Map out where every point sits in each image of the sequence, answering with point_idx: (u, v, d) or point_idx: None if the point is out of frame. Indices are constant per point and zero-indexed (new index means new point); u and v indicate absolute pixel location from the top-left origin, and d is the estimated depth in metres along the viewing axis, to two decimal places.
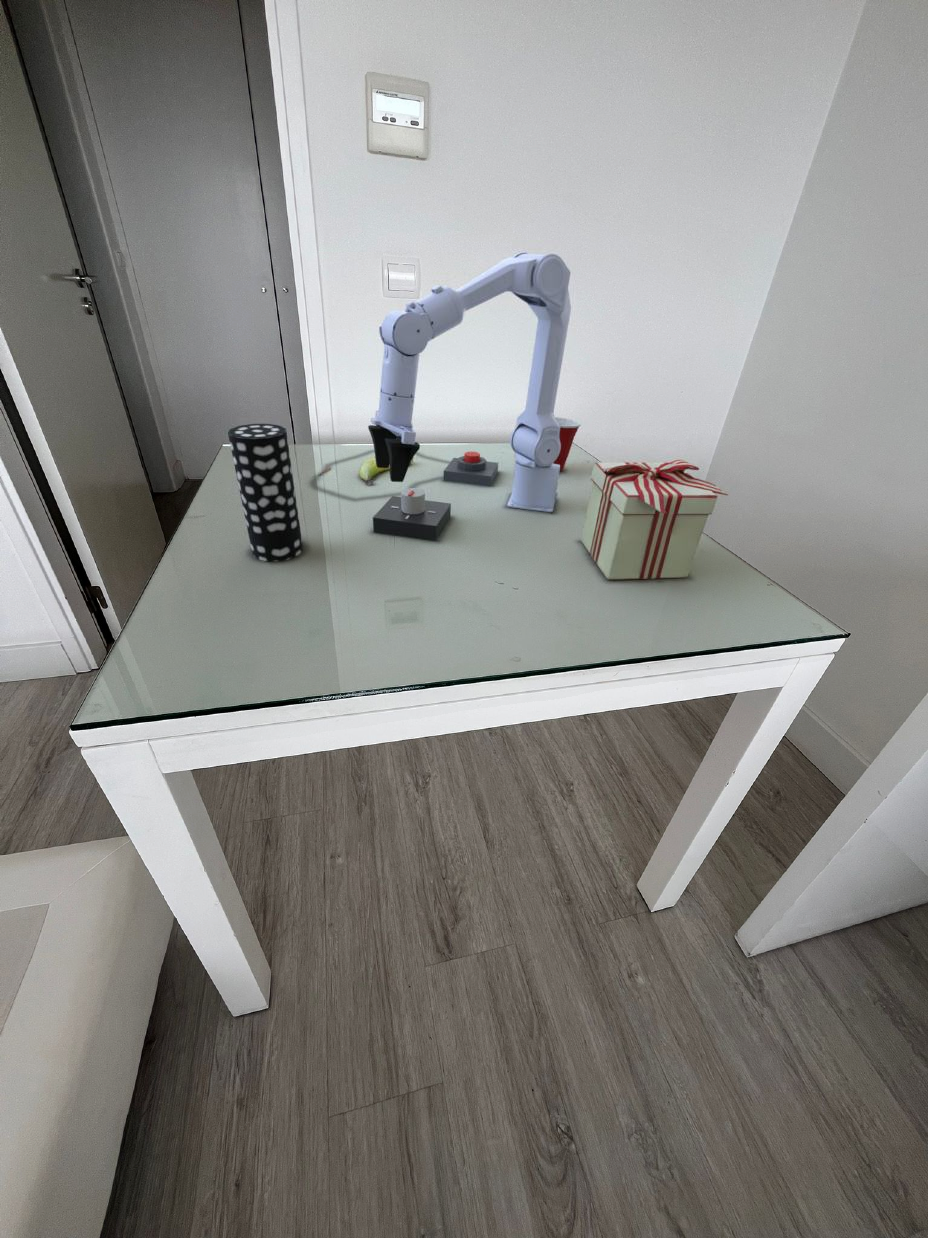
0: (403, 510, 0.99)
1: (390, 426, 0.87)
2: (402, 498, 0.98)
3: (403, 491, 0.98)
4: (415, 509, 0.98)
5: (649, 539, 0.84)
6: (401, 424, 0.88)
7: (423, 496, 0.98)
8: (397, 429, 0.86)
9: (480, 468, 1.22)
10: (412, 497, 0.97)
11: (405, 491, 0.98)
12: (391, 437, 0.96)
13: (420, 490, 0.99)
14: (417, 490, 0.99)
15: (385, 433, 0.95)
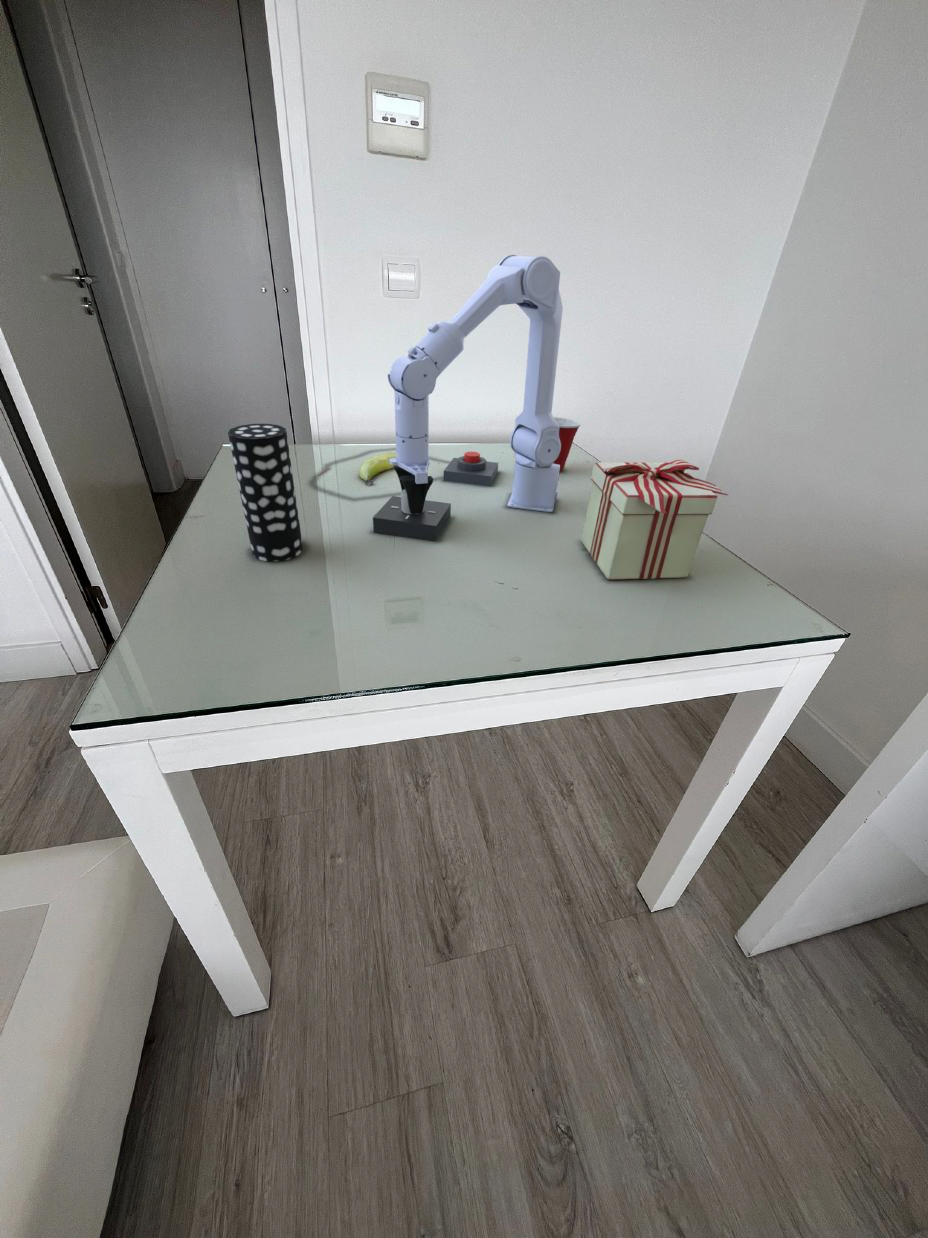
0: (403, 510, 0.99)
1: (405, 467, 0.92)
2: (402, 498, 0.98)
3: (403, 491, 0.98)
4: None
5: (649, 539, 0.84)
6: (416, 463, 0.93)
7: None
8: (411, 470, 0.91)
9: (480, 468, 1.22)
10: None
11: (405, 491, 0.98)
12: None
13: None
14: None
15: None
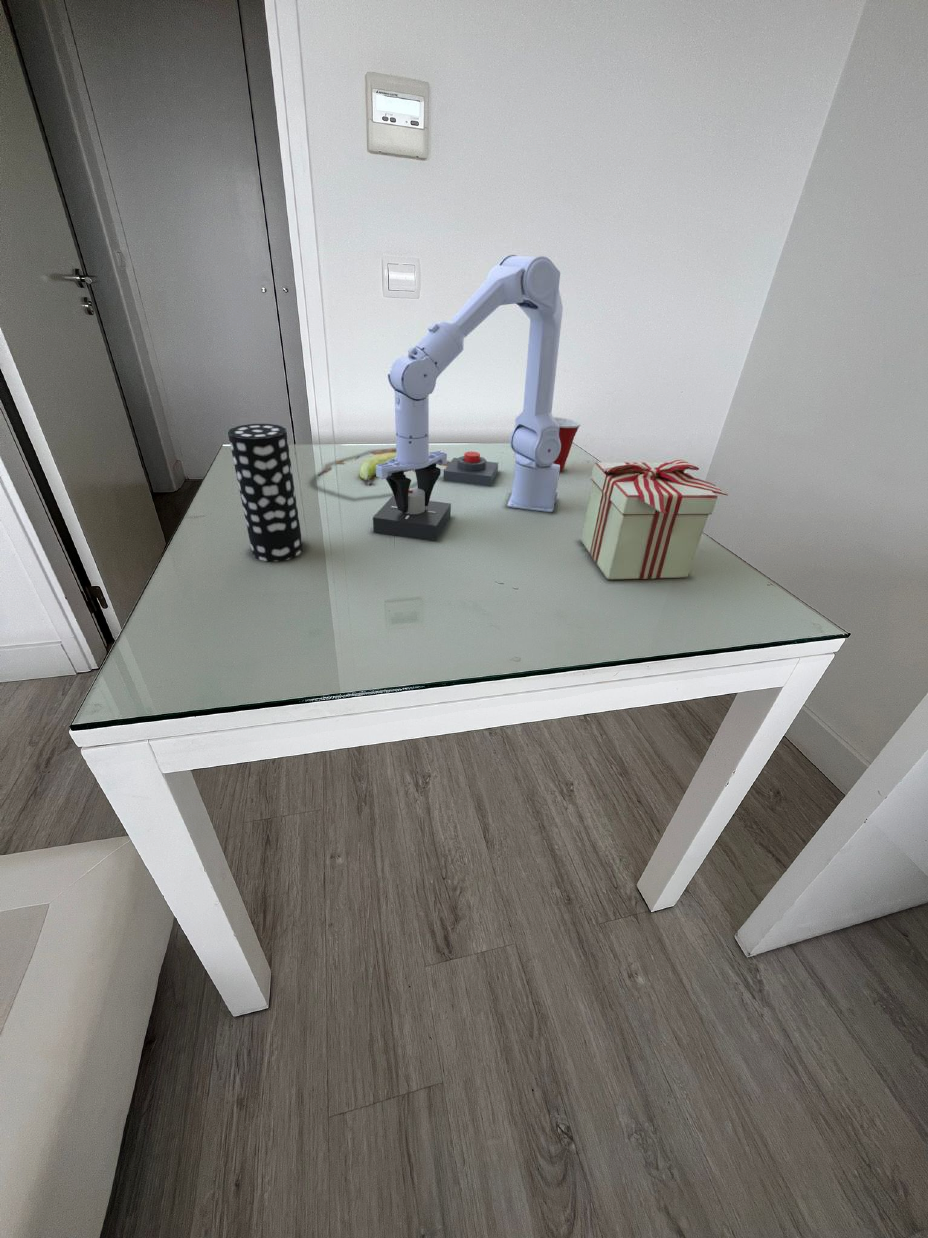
0: None
1: None
2: None
3: (410, 488, 1.00)
4: None
5: (649, 539, 0.84)
6: (399, 461, 0.93)
7: (412, 498, 0.97)
8: None
9: (480, 468, 1.22)
10: None
11: (411, 489, 0.99)
12: (426, 477, 0.98)
13: (419, 493, 0.98)
14: (419, 493, 0.98)
15: (423, 472, 0.98)
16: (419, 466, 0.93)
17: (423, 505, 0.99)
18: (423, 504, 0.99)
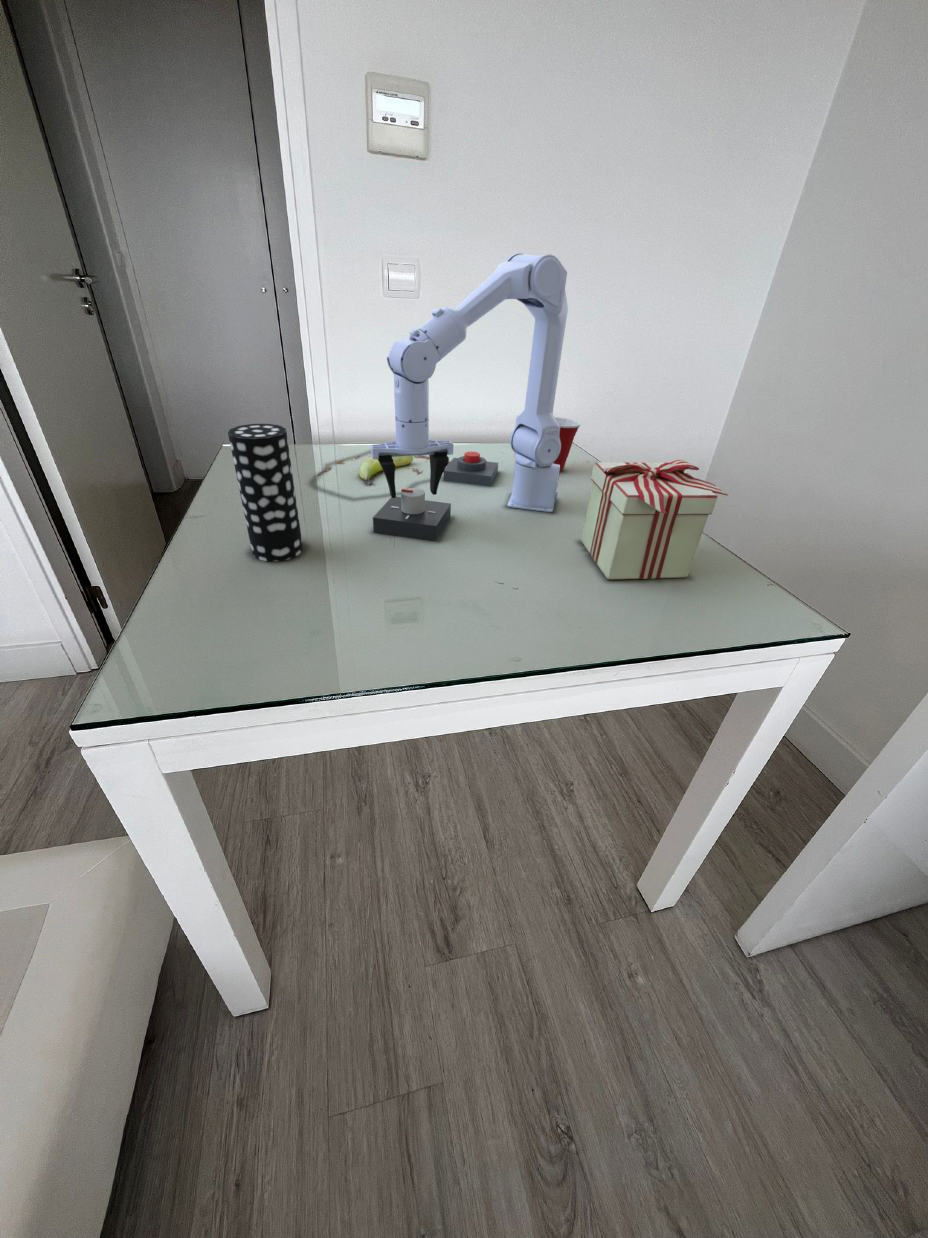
0: None
1: None
2: None
3: (414, 488, 1.00)
4: (401, 505, 0.99)
5: (649, 539, 0.84)
6: (396, 444, 0.93)
7: (407, 498, 0.97)
8: None
9: (480, 468, 1.22)
10: (401, 492, 0.98)
11: (414, 489, 1.00)
12: (434, 465, 0.96)
13: (417, 494, 0.97)
14: (417, 493, 0.98)
15: (433, 460, 0.96)
16: (412, 451, 0.91)
17: (420, 507, 0.98)
18: (420, 506, 0.98)
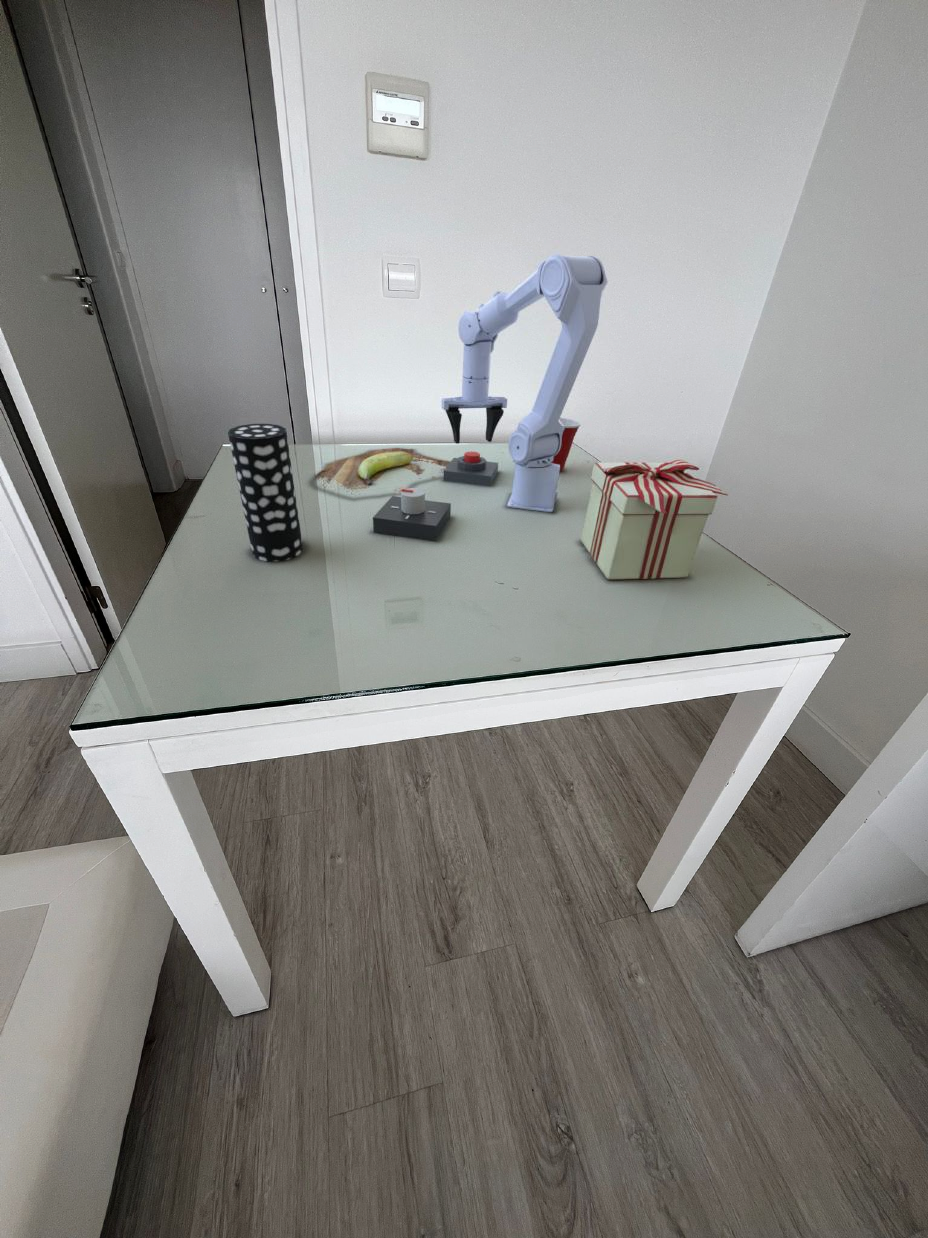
0: None
1: (457, 397, 1.16)
2: None
3: (414, 488, 1.00)
4: (401, 505, 0.99)
5: (649, 539, 0.84)
6: (462, 398, 1.15)
7: (407, 498, 0.97)
8: (450, 398, 1.16)
9: (480, 468, 1.22)
10: (401, 492, 0.98)
11: (414, 489, 1.00)
12: (491, 416, 1.18)
13: (417, 494, 0.97)
14: (417, 493, 0.98)
15: (490, 412, 1.18)
16: (475, 403, 1.13)
17: (420, 507, 0.98)
18: (420, 506, 0.98)
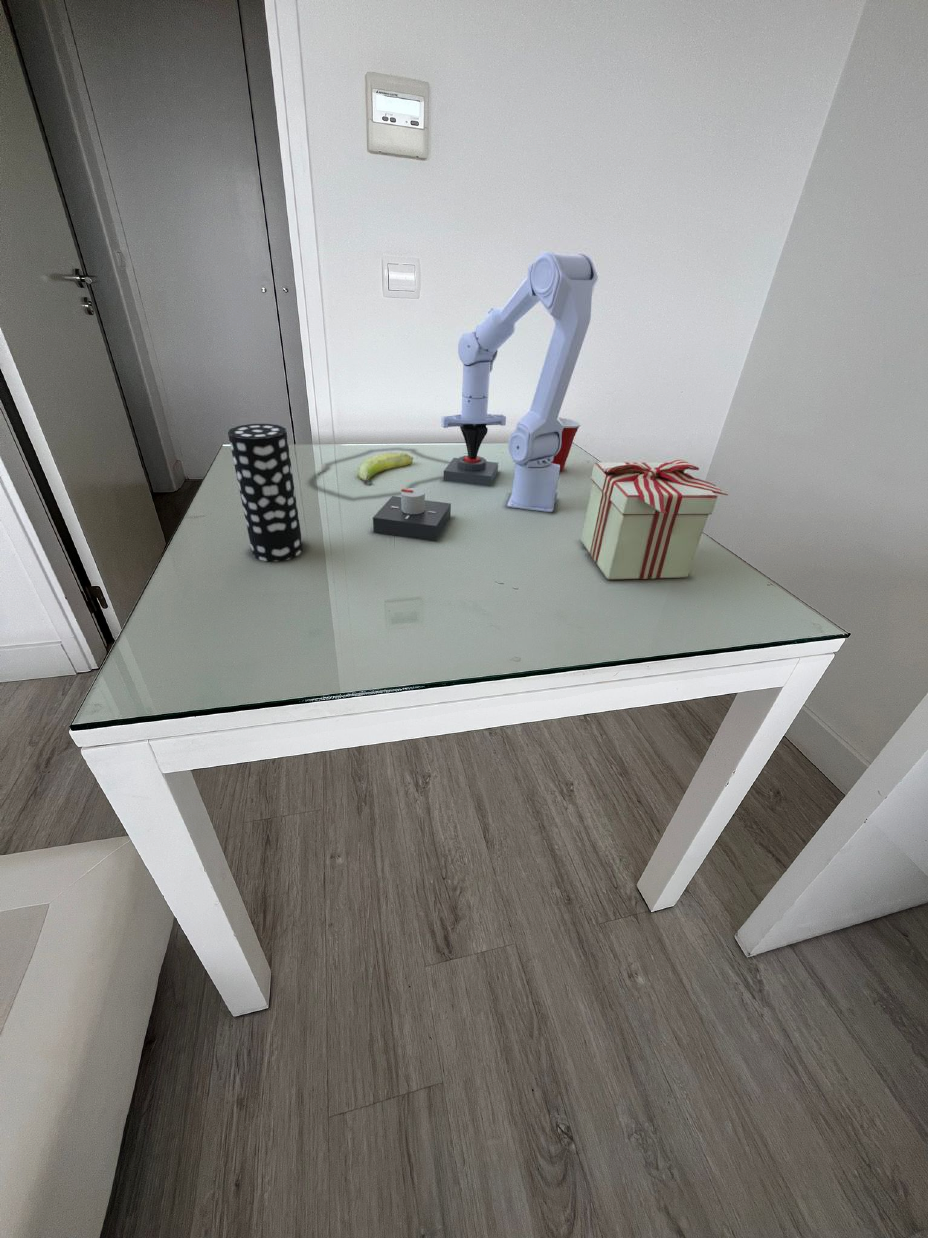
0: None
1: None
2: None
3: (414, 488, 1.00)
4: (401, 505, 0.99)
5: (649, 539, 0.84)
6: (461, 416, 1.17)
7: (407, 498, 0.97)
8: (450, 416, 1.18)
9: (480, 468, 1.22)
10: (401, 492, 0.98)
11: (414, 489, 1.00)
12: (475, 434, 1.19)
13: (417, 494, 0.97)
14: (417, 493, 0.98)
15: (475, 430, 1.20)
16: (475, 422, 1.16)
17: (420, 507, 0.98)
18: (420, 506, 0.98)
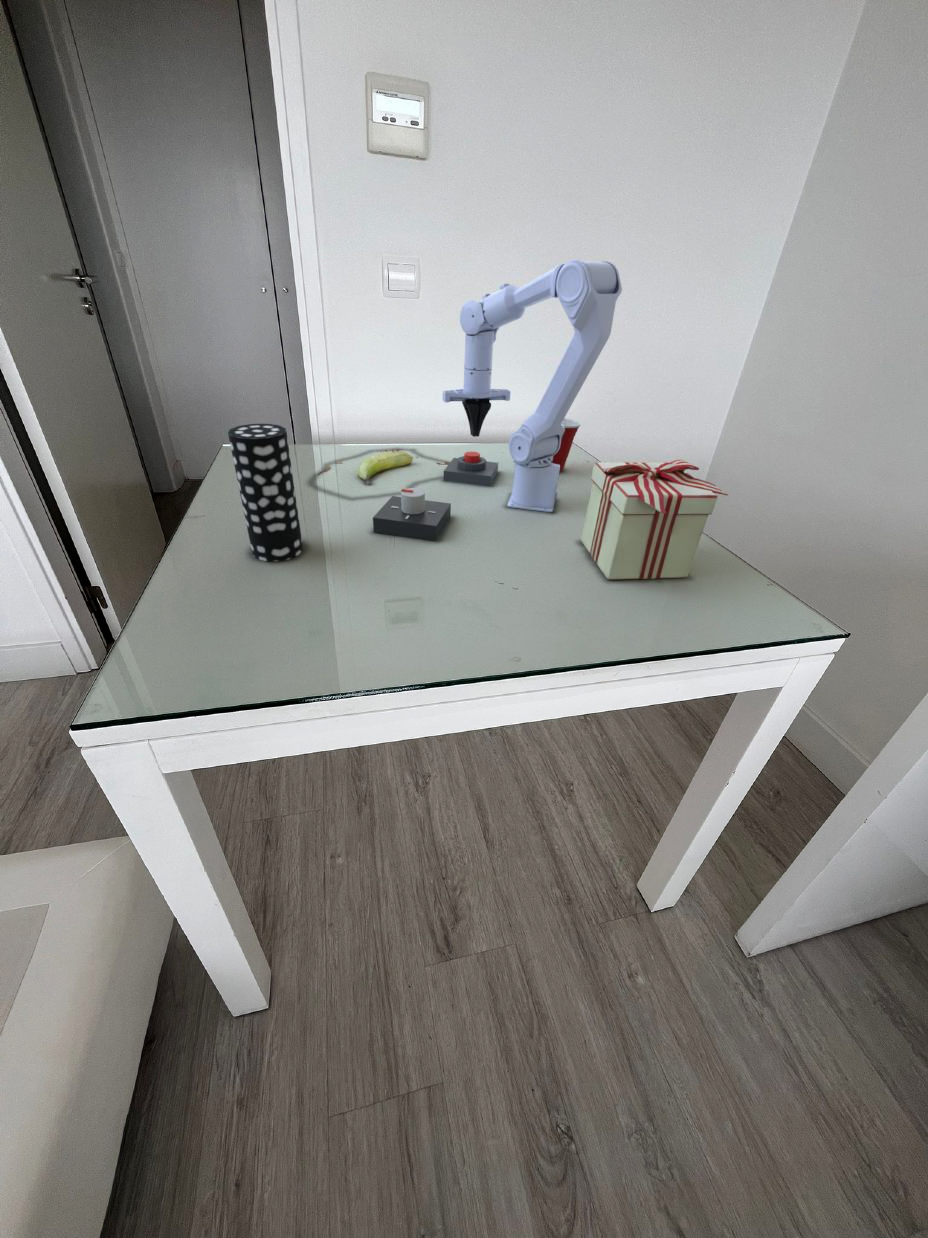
0: None
1: None
2: None
3: (414, 488, 1.00)
4: (401, 505, 0.99)
5: (649, 539, 0.84)
6: (464, 390, 1.11)
7: (407, 498, 0.97)
8: None
9: (480, 468, 1.22)
10: (401, 492, 0.98)
11: (414, 489, 1.00)
12: (478, 410, 1.14)
13: (417, 494, 0.97)
14: (417, 493, 0.98)
15: (478, 405, 1.14)
16: (477, 395, 1.10)
17: (420, 507, 0.98)
18: (420, 506, 0.98)
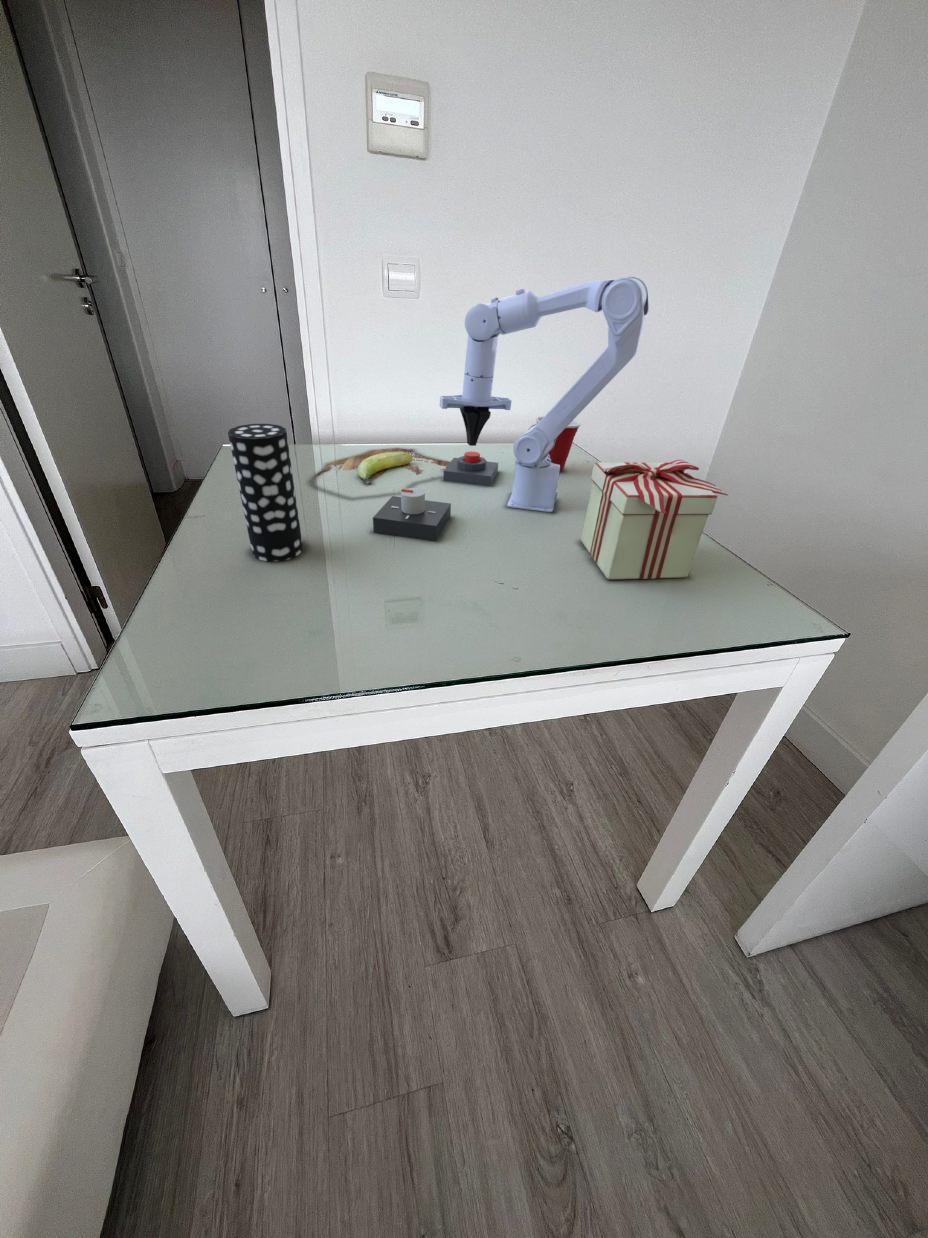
0: None
1: None
2: None
3: (414, 488, 1.00)
4: (401, 505, 0.99)
5: (649, 539, 0.84)
6: (462, 397, 1.05)
7: (407, 498, 0.97)
8: (449, 396, 1.06)
9: (480, 468, 1.22)
10: (401, 492, 0.98)
11: (414, 489, 1.00)
12: (477, 418, 1.07)
13: (417, 494, 0.97)
14: (417, 493, 0.98)
15: (476, 413, 1.08)
16: (477, 404, 1.04)
17: (420, 507, 0.98)
18: (420, 506, 0.98)
